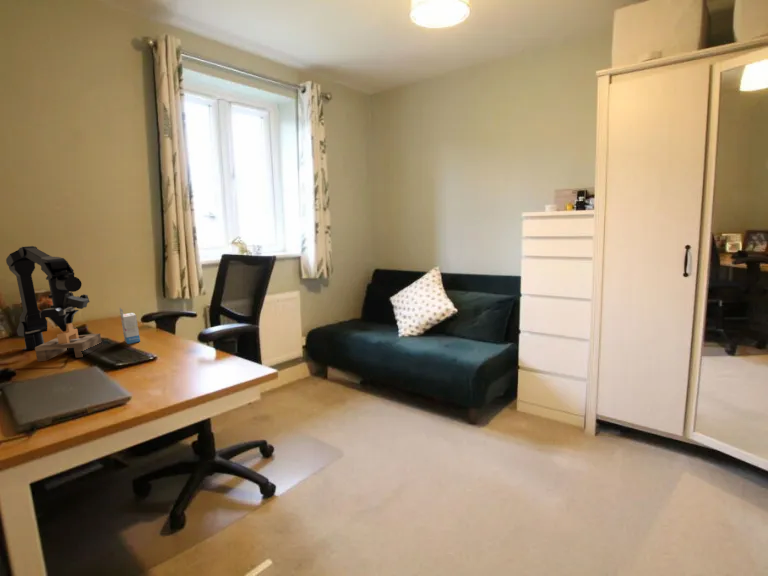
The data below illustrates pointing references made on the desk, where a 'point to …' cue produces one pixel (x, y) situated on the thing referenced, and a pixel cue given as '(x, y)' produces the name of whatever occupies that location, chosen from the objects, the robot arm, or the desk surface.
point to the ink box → (130, 327)
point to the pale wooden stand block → (67, 334)
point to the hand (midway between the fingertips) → (67, 330)
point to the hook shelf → (66, 346)
